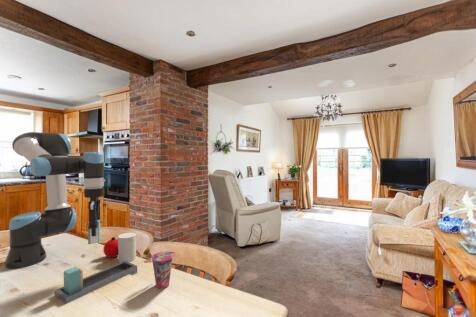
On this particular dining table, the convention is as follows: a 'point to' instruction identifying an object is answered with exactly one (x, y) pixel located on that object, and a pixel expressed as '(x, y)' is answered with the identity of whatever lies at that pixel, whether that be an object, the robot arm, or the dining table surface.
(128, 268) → the rail
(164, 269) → the cup
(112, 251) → the ornament
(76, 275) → the block
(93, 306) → the dining table surface
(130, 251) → the cup
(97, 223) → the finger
